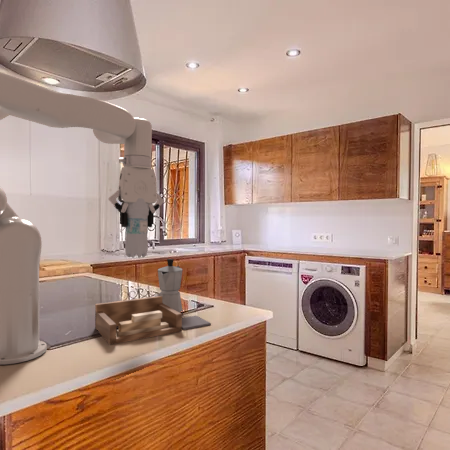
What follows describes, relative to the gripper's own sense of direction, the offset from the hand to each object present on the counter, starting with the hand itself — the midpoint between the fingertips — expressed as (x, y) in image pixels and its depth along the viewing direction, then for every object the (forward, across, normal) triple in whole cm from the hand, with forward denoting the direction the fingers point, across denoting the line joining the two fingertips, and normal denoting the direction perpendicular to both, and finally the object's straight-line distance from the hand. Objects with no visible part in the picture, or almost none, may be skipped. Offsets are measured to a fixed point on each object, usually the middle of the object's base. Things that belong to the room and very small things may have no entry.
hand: (136, 226), depth 101 cm
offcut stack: (+29, 0, -6) cm, 30 cm away
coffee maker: (+29, +16, +12) cm, 36 cm away
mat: (+29, +16, -4) cm, 33 cm away
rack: (+29, 0, -1) cm, 29 cm away
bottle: (+9, 0, 0) cm, 9 cm away
